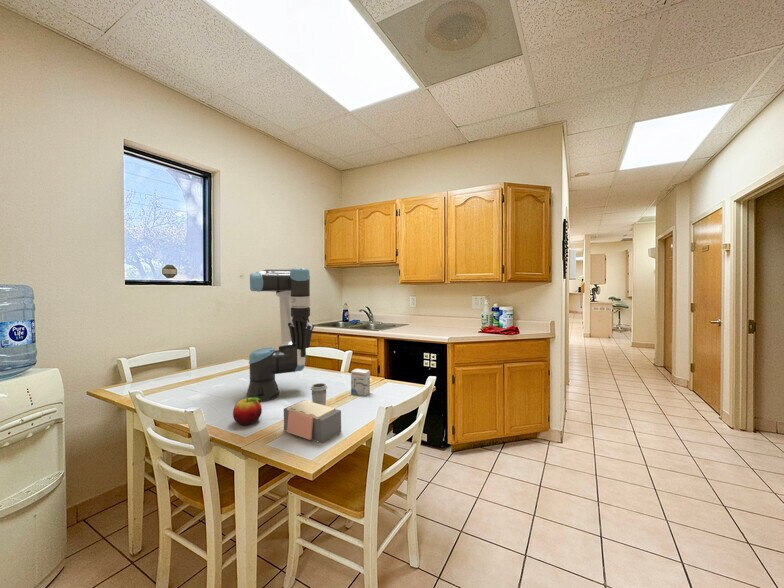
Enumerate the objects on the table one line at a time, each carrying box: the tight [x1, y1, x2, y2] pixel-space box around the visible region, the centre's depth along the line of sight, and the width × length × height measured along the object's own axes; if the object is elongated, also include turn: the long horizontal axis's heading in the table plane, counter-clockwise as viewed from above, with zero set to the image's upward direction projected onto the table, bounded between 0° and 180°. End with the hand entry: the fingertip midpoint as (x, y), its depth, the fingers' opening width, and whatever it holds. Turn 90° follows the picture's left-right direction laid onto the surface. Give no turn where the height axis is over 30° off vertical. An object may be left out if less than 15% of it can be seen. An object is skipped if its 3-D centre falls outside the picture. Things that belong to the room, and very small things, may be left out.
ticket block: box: [283, 400, 342, 444], centre depth 124 cm, size 20×10×9 cm, turn 58°
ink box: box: [350, 368, 371, 397], centre depth 164 cm, size 9×5×12 cm, turn 68°
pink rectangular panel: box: [286, 411, 313, 441], centre depth 119 cm, size 12×8×1 cm
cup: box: [310, 382, 328, 406], centre depth 141 cm, size 7×7×12 cm
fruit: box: [232, 397, 263, 426], centre depth 132 cm, size 11×11×10 cm
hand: (301, 364), depth 133 cm, fingers closed
